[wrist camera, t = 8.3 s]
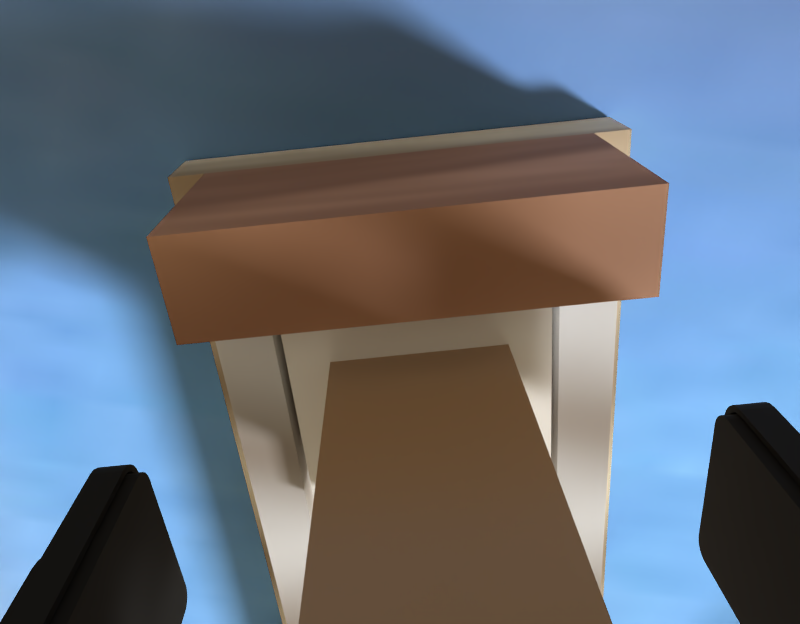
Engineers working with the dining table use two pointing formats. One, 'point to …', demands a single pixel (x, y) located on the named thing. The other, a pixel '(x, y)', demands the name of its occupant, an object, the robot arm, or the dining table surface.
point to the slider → (436, 476)
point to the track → (411, 283)
